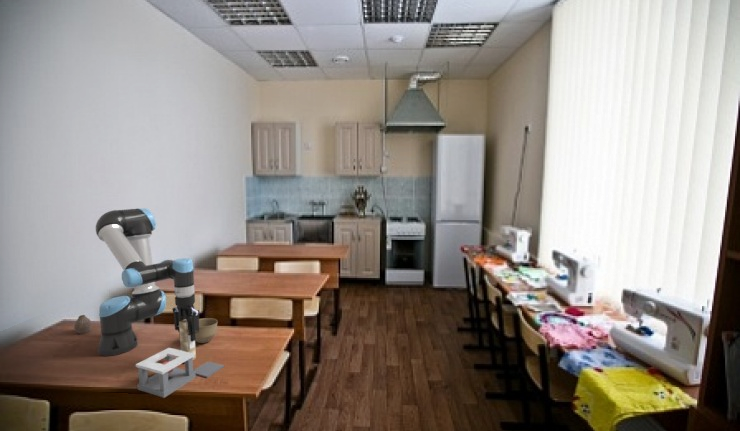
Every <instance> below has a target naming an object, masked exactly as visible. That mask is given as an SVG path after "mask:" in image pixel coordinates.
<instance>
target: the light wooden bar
mask: <svg viewBox="0 0 740 431" xmlns="http://www.w3.org/2000/svg"><path fill="white" fill-rule="evenodd" d="M179 329H180V337H179V342H180V350H181V351H185V352H189V353H193V354H194V355H195V356H194V357H193V361H195V360H197V354H196V353H197V352H196V346H195V347H193V348H192V349H189V344H188V334H189V329H188V322H187V320H186V319H185V320H183V321H180V322H179Z"/></svg>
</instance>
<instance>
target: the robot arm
mask: <svg viewBox="0 0 740 431" xmlns="http://www.w3.org/2000/svg"><path fill="white" fill-rule="evenodd" d="M156 225H157V222H156V219H155V216H154V214H153V213H152V211H151V210H150V209H148V208H129V209H118V210H117V209H114V210H109V211H107V212H105V213H104V214H102V215H101V216H100V217H99V218H98V219H97V222H96V224H95V233H96V236H97V237H98V239H99V240H100V241H102V242H104V243H105V244H106V245H107V247H108V248H109V251H110V252H111V253H112V255H113V256H114V258H115V259H116V261H117V262H118V264H119V266H120V267H121V268H122V270H123V271H122V272H121V281H122V284H123V285H124V287H126V288H133V287H134V289H133V291H132V293H131V296H132V297H130V296H127V295H121V296H116V297H111V298H110V299H107V300H105V301H103V302H102V303H101V304H100V305H99V313H98V316H99V321H100V331H101V332H100V333H101V336H100V339H99V342H98V347H97V354H99V356H103V357H104V356H105V357H108V356H116V355H120V354H124V353H127V352H130V351H131V350H133V349H135V348H136V347H137V346H138V341H139V340H138V337H137V336H136V334H135V332H134V330H133V325H132V324H133V323H135V322H138V321H139V322H140V321H142V320H146V319H149V318H153V317H156V316H158V315H161V314H162V313H163V312H164V311H165V309H166V306H167V296H166V295H165V292H164V291H163V290H160V287H159V286H157V285H156V283H157V282H161V281H166V280H169V279H171V280H173V284H174V286H173V287H174V296H175V297H174V301H175V307H173V308H172V309H171V311H172V313H173V320H174V321H173V324H174V329H175V331H177V332H178V334H179V338H180V329H179V322H180V321H183V320H185V319H186V320H187V322H188V329H189V334H188V344H189V349H192V348H193V347H195V348H196V341H195V339H196V338H195V333H197V332H199V319H200V309H195V306H194V304H195V302H196V295H195V292H196V291H195V290H196V289H195V273H194V263H193V260H192V259H191V258H185V257H184V258H183V257H182V258H177V259H175V260H173V259H164V260H162V261H160V262H159V263H153V256H152V251H151V244H150V243H151V242H150V238H151V236H152V235H153V231H155V230H156V227H157V226H156Z"/></svg>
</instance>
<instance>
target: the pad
mask: <svg viewBox="0 0 740 431" xmlns="http://www.w3.org/2000/svg"><path fill="white" fill-rule="evenodd" d="M224 367H225V365H224V364H220V363H217V362H213V361H206V362H205V363H203V364H201V365H200V366H197V367H196V368H195V369H194V368H193V372H194V373H196V376H199V377H204V378H206V379H208V378H209V377H210V376H212V375H215V373H217V372H218V371H220V370H222V369H223V368H224Z"/></svg>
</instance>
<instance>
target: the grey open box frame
mask: <svg viewBox="0 0 740 431" xmlns="http://www.w3.org/2000/svg"><path fill="white" fill-rule="evenodd" d="M194 356H195V355H194V354H193V353H189V352H185V351H181V349H177V348H171V347H167V348H165V349H163V350H161V351H159V352H157V353H155V354H154V355H151V356H149V357H147V358H145V359H143V360H142V361H140V362H138V363H135V368H137V369H138V382H139V383H137V385H136V387H137V390H138V391H142V392H145V393H147V394H151V395H155V396H157V397H160V398H163V399H165V398H166V397H168V396H169V395H171V394H172V393H175V392H176V391H177V390H179V389H180V388H182V387H183V386H186V385H187V384H188V383H189V382H192V381H193V380H194V379H196V376H197V375H196V373H194V372H193V370H194V360H193V357H194ZM162 359H164V362H165V361H170V362H168V363H167V364H165V365H164V364H161V363H160V362H159V361H161V360H162ZM183 363H184V369H183V368H179V367H178V366H180V365H182V364H183ZM171 369H173V371H172V372H170V373H169V377H168V371H169V370H171ZM148 371H149V372H153V373H155V374H153V375H151V376H150V377H149V376H148Z"/></svg>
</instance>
